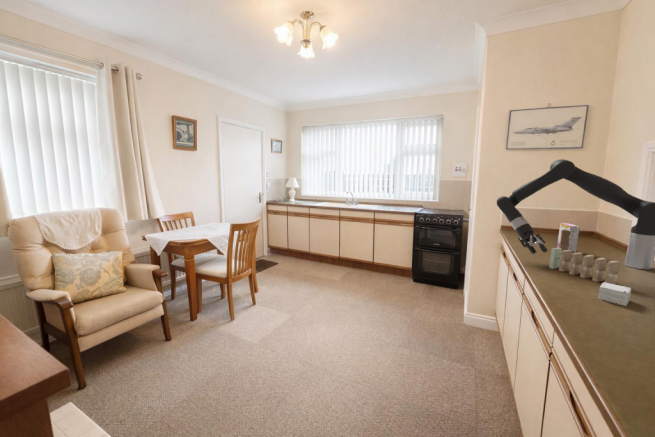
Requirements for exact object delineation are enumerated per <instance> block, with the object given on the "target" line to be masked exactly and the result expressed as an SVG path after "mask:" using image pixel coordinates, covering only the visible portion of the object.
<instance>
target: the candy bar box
mask: <svg viewBox="0 0 655 437" xmlns="http://www.w3.org/2000/svg"><path fill="white" fill-rule="evenodd" d="M580 228H581V226H578V225H575V224H572V223H568V222H567V223H565V222H560V223H559V228H558V229H559V230H558V236H557V244H556V248H559V246H560V238H561V231H562V230H569V231H570V234H569V241H568V249H569V250H574V253H577V251H578V250H577V249H578V243H579V236H580V235H579V234H580Z"/></svg>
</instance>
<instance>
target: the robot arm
mask: <svg viewBox="0 0 655 437" xmlns="http://www.w3.org/2000/svg"><path fill="white" fill-rule="evenodd" d="M563 179H564V180H566V181H568V182H571V183H572V184H574V185H576V186H578V187H579V188H581V189H582V190H583V191H585V192H587V193H588V194H590V195H592V196H594V197H595V198H598V199H600V200H603V201H604V202H605V203H606V202H607V203H609V204H611V205H614V206H617V207H618V208H621V209H622V210H624V211H625V212H627V214H630V215H631V216H632V217H634V218H636V219H637V220H636V224H635V225H634V226H632V227H631V228H630V233H629V238H628V244H627V250H626V254H625V259H624V260H625V261H624V265H625V266H627V267H630V268H633V269H639V270H651V269H653V268H654V262H655V202H654V201H647V200H644V199H642V198H640V197H636V196H633V195H632V194H630V193H629V192H627V191H626V190H624V188H622V187H621V186H620V185H618V184H616V183H615V182H613V181H611V180H609V179H607V178H605V177H602V176H599V175H597V174H594V173H590V172H588V171H585V170H583V169H581V168H579V167H577V166H576V165H575V163H574V162H572V161H571V160H568V159H563V158H562V159H557V160H554V161H553V162H552V163H551V164H550V167H549V170H548V171H547V172H546V173H544V174H542V175H541V176H539V177H536V178H534V179H533V180H530V181H528V182H526V183H524V184H522V185H521V186H519V187H518V188H516V189H515V190H513V191H512V192H511V193H512V194H510V196H505V195H504V196H503V195H502V196H499V197H498V198H497V200H496V206H497V207H498V208H499V210H500V211H501V212H502V213H503V214H504V216H505V218H506V219H507V221H508V222H509V223H510V225H511V226H512V228H513V229H514V231H515V233H516V234H517V235H518V238H517V239H518V240H519V242H520V244H521V245H522V246H523V248H527V249H528V250H529V251H530V253H531V254H532V255H534V254H536V253H537V250H536V248H535V247H534V246H533V245H536V246H538V247H539V248H540V250H541V251H542V252H543V253H547V252H548V251H549V250H548V249H547V247H546V246H545V244H546V241H545V240H544V239H543V237H542V236H541V235H540V234H539V233H537V234H535V233H534V231H535V230H534V228H533V227H532V226H531V224H530V223H529V221H528V220H527V219H526V218H525V217H524V216H523V214H522V213H521V212H520V210H519V209H517V208H516V206H518V205H519V204H520V203H521V202H522V201H524V200H525V199H527V198H529V197H530V196H533V195H534V194H535V193H537V192H538V191H541V190H542V189H544V188H546V187H548V186H550V185H553V184H554V183H556V182H558V181H561V180H563Z"/></svg>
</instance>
